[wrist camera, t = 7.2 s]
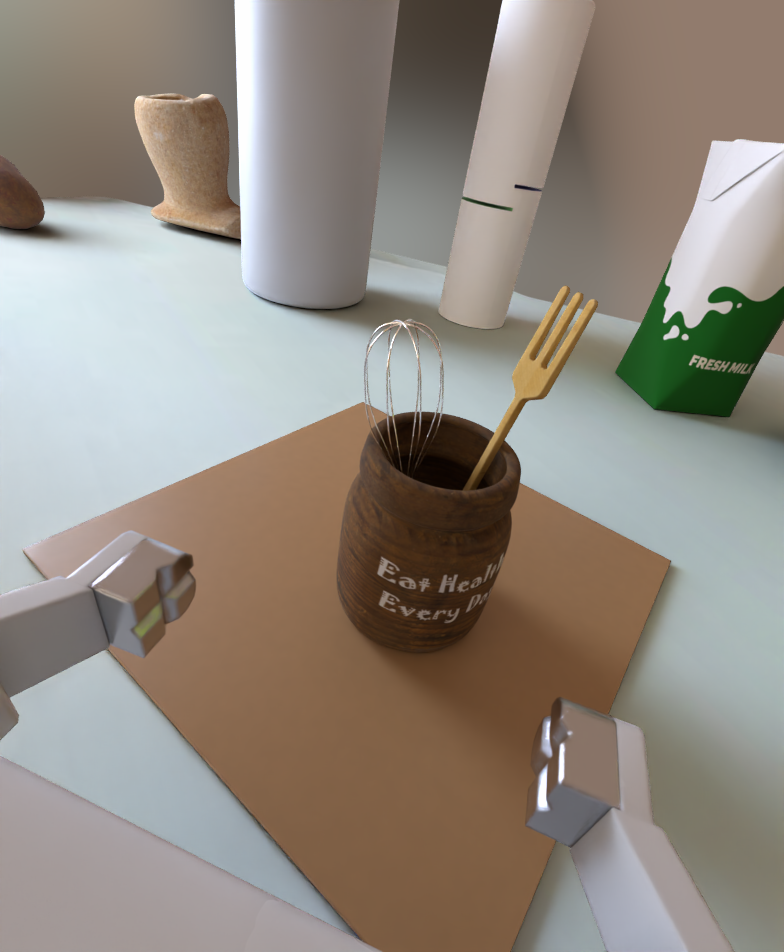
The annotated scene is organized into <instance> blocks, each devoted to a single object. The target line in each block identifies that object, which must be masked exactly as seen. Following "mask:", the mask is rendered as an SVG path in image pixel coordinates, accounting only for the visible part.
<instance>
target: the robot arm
mask: <svg viewBox="0 0 784 952" xmlns="http://www.w3.org/2000/svg"><path fill="white" fill-rule="evenodd" d="M193 566H194V562H193V557H192V555H191V554H188V553H186V552H184V551H181V550H179V549H176V548H174V547H171V546H169V545H166V544H164V543H162V542H159V541H157V540H154V539H152V538H150V537H147V536H145V535H142V534H140V533H137V532H134V531H132V530H131V531H128V532H125V533H122V534H121V535H119V536H118V537H117V538H116V539H114V540H113V541H112V542H111V543H109V544H108V545H107V546H106V547H104V548H103V549H102V550H101V551H99V552H98V553H97V554H95V555H94V556H93V557H92V558H90V559H89V560H88V561H87V562H85V563H84V564H83V565H82V566H80V567H79V568H78V569H77V570H75V571H74V572H73V573H72V574H70V575H69V576H68V577H66V578H65V577H62V576H58V577H55V578H51V579H48V580H45V581H42V582H38V583H35V584H32V585H29V586H25V587H22V588H19V589H16V590H13V591H9V592H6V593H3V594H0V740H1V739H2V738H3V737H4V736H5V735H6V734H7V733H8V732H9V731H10V730H11V729H12V728H13V727H14V726H15V725H16V724H17V723H18V718H19V714H18V713H17V711H16V709H15V707H14V705H13V704H12V702H11V700H10V697H12V696H14V695H16V694H18V693H20V692H22V691H24V690H26V689H28V688H30V687H32V686H34V685H36V684H38V683H40V682H42V681H44V680H46V679H48V678H50V677H52V676H54V675H56V674H58V673H60V672H62V671H64V670H66V669H68V668H70V667H71V666H73V665H75V664H77V663H79V662H81V661H83V660H85V659H87V658H89V657H91V656H93V655H95V654H97V653H99V652H101V651H103V650H105V649H107V648H109V647H110V645H112V646H114V647H117V648H119V649H122V650H124V651H127V652H129V653H132V654H134V655H137V656H139V657H142V658H145V657H146V656H147V655H148V653H149V652H150V651H151V650H152V649H153V648H154V647H155V646H156V645H157V643H158V642H159V641H160V640H161V639H162V638H163V637H164V636H165V635H166V625H167V624H168V623H170V622H173V621H175V620H178V619H180V618H181V616H182V615H183V614H184V613H185V612H186V611H187V609H188V608H189V606H190V604H191V602H192V600H193V599H194V597H195V592H196V579H195V578H194V576H193V575H192V574H191V572H190V571H189V570H190V569H191V568H192V567H193ZM530 765H531V767H532V770H533V772H534V774H535V776H536V778H535V779H534V781H533V782H532V784H531V785H530V787H529V788H528V795H527V807H526V818H525V826H526V827H528V828H530V829H532V830H534V831H536V832H539V833H541V834H543V835H545V836H547V837H549V838H551V839H553V840H556V841H558V842H560V843H562V844H564V845H566V846H568V847H570V848H571V849H570V853H571V856H572V858H573V861H574V864H575V867H576V869H577V872H578V875H579V877H580V880H581V883H582V886H583V888H584V891H585V894H586V897H587V899H588V902H589V905H590V907H591V910H592V913H593V916H594V918H595V921H596V924H597V927H598V929H599V932H600V935H601V938H602V940H603V943H604V946H605V948H606V951H607V952H735V951H734V950H733V948H732V946H731V944H730V943H729V941H728V939H727V938H726V936H725V934H724V932H723V931H722V929H721V927H720V926H719V924H718V922H717V920H716V919H715V917H714V915H713V914H712V912H711V910H710V908H709V907H708V905H707V903H706V902H705V900H704V898H703V896H702V895H701V893H700V891H699V890H698V888H697V886H696V884H695V883H694V881H693V879H692V877H691V876H690V874H689V872H688V871H687V869H686V867H685V865H684V864H683V862H682V860H681V859H680V857H679V855H678V853H677V852H676V850H675V848H674V847H673V845H672V843H671V841H670V840H669V838H668V836H667V835H666V833H665V831H664V829H663V828H661V827H658V826H656V825H654V818H653V809H652V799H651V790H650V781H649V772H648V763H647V754H646V744H645V735H644V733H643V731H642V729H641V728H640V727H638V726H635V725H633V724H630V723H627V722H625V721H622V720H619V719H616V718H614V717H611V715H608V714H606V713H603V712H600V711H598V710H595V709H592V708H589V707H587V706H584V705H581V704H579V703H576V702H573V701H571V700H568V699H565V698H562V697H558V698H556V700H555V701H554V702H553V704H552V705H551V716H548V717H544V718H543V719H542V721H541V723H540V725H539V726H538V729H537V732H536V735H535V738H534V741H533V747H532V753H531V762H530ZM0 952H382V951H380V950H378V949H376V948H374V947H372V946H370V945H369V944H367V943H365V942H363V941H361V940H359V939H357V938H355V937H353V936H351V935H349V934H347V933H345V932H343V931H341V930H339V929H337V928H335V927H333V926H331V925H330V924H328V923H326V922H324V921H322V920H320V919H318V918H316V917H314V916H312V915H310V914H308V913H306V912H304V911H302V910H300V909H298V908H296V907H294V906H292V905H291V904H289V903H287V902H285V901H283V900H281V899H279V898H277V897H275V896H273V895H271V894H269V893H267V892H265V891H263V890H261V889H259V888H257V887H255V886H253V885H252V884H250V883H248V882H246V881H244V880H242V879H240V878H238V877H236V876H234V875H232V874H230V873H228V872H226V871H224V870H222V869H220V868H218V867H216V866H214V865H213V864H211V863H209V862H207V861H205V860H203V859H201V858H199V857H197V856H195V855H193V854H191V853H189V852H187V851H185V850H183V849H181V848H179V847H177V846H175V845H174V844H172V843H170V842H168V841H166V840H164V839H162V838H160V837H158V836H156V835H154V834H152V833H150V832H148V831H146V830H144V829H142V828H140V827H138V826H136V825H135V824H133V823H131V822H129V821H127V820H125V819H123V818H121V817H119V816H117V815H115V814H113V813H111V812H109V811H107V810H105V809H103V808H101V807H99V806H97V805H96V804H94V803H92V802H90V801H88V800H86V799H84V798H82V797H80V796H78V795H76V794H74V793H72V792H70V791H68V790H66V789H64V788H62V787H60V786H58V785H56V784H55V783H53V782H51V781H49V780H47V779H45V778H43V777H41V776H39V775H37V774H35V773H33V772H31V771H29V770H27V769H25V768H23V767H21V766H19V765H17V764H16V763H14V762H12V761H10V760H8V759H6V758H4V757H2V756H0Z"/></svg>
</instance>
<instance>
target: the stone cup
mask: <svg viewBox="0 0 784 952" xmlns="http://www.w3.org/2000/svg"><path fill="white" fill-rule="evenodd" d="M135 118H136V122H137V125H138V129H139V132H140V134H141V137H142V139H143V142H144V145H145V147H146V150H147V152H148V154H149V156H150V158H151V160H152V162H153V165H154V167H155V169H156V171H157V173H158V175H159V178H160V180H161V183H162V185H163V188H164V201H163V202H162V203H161V204H160V205H158V206H156V207H154V208H153V209H152V210H151V214H152V216H154V217H155V218H156V219H159V220H162V221H165V222H168V223H172V224H175V225H180V226H184V227H188V228H192V229H196V230H200V231H204V232H209V233H213V234H218V235H222V236H227V237H232V238H237V239H241V211H240V206H238V205H236V204H235V203H234V202H233V201H232V200H231V199H230V197H229V195H228V190H227V172H228V163H229V131H228V124H227V118H226V114H225V112H224V109H223V107H222V105H221V104H220V102H219V101H218V99H217V98H216V97H215V96H213V95H208V94H202V95H200V96H199V97H198V98H195V99H191V98H189V97H186V96H184V95H180V94H159V95H158V94H157V95H152V96H145V95H143V96H139V97H137V98H136V101H135Z"/></svg>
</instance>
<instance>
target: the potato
mask: <svg viewBox="0 0 784 952" xmlns="http://www.w3.org/2000/svg"><path fill="white" fill-rule="evenodd" d="M44 214H45V211H44V206H43V202H42V201H41V199H40V197H39V195H38V193H37V191H36V190H35V189H34V188H33V187H32V185H31V184H30V183H29V182H28V181H27V180H26V179H25V178H24V177H23V176H22V175H21V173H20V172H19V171H18V169H17V168H16V167H15V165H14V164H12V163H11V162H10V161H9V160H7V159H6V158H4V157H3V156H1V155H0V226H3V227H8V228H12V229H27V228H31V227H34V226H36V225H37V224H39V223H40V222H41V221H42V220H43V218H44Z"/></svg>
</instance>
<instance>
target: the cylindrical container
mask: <svg viewBox="0 0 784 952" xmlns="http://www.w3.org/2000/svg"><path fill="white" fill-rule="evenodd" d="M594 10H595V3H594V2H593V1H592V0H503V2H502V7H501V12H500V17H499V21H498V26H497V31H496V36H495V41H494V46H493V50H492V55H491V60H490V65H489V70H488V75H487V79H486V84H485V89H484V94H483V99H482V103H481V108H480V113H479V118H478V123H477V128H476V133H475V137H474V143H473V147H472V152H471V157H470V162H469V166H468V171H467V176H466V181H465V186H464V190H463V196H465V197H463V198H462V200H461V205H460V210H459V215H458V219H457V224H456V229H455V234H454V239H453V243H452V248H451V253H450V258H449V263H448V268H447V272H446V277H445V282H444V287H443V292H442V297H441V301H440V306H439V314H440V315H441V316H443V317H444V318H446V319H448V320H450V321H452V322H455V323H457V324H460V325H464V326H468V327H473V328H480V329H496V328H500V327H502V326H503V325H504V321H505V318H506V314H507V311H508V307H509V304H510V301H511V297H512V294H513V289H514V287H515V283H516V280H517V276H518V273H519V269H520V266H521V262H522V259H523V256H524V252H525V249H526V245H527V241H528V238H529V234H530V231H531V228H532V224H533V221H534V218H535V214H536V210H537V207H538V204H539V200H540V196H541V193H542V191H541V190H539V189H535V188H531V187H537V188H543V186H544V183H545V179H546V176H547V172H548V169H549V165H550V162H551V159H552V155H553V152H554V148H555V144H556V141H557V137H558V134H559V131H560V127H561V124H562V121H563V117H564V114H565V110H566V107H567V103H568V100H569V96H570V93H571V89H572V86H573V82H574V79H575V76H576V72H577V68H578V65H579V61H580V58H581V55H582V51H583V48H584V44H585V41H586V37H587V34H588V31H589V27H590V24H591V20H592V17H593V13H594ZM528 186H529V187H528Z"/></svg>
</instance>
